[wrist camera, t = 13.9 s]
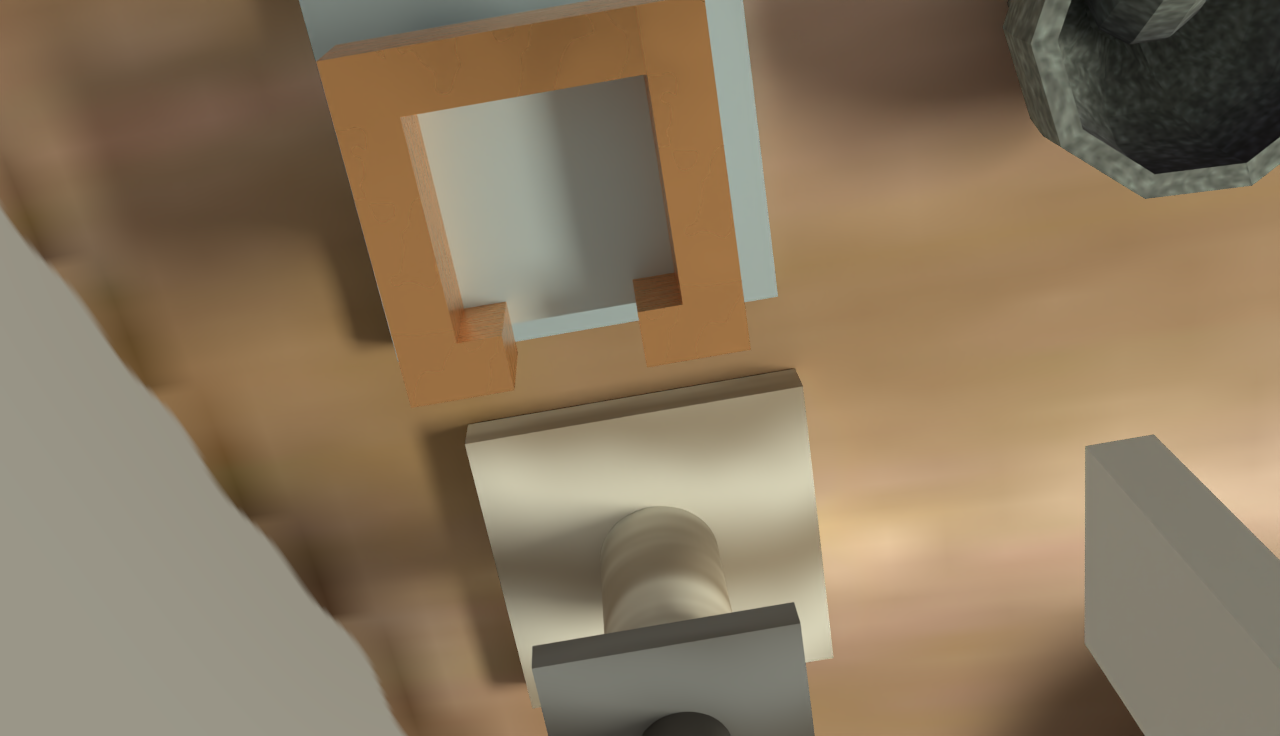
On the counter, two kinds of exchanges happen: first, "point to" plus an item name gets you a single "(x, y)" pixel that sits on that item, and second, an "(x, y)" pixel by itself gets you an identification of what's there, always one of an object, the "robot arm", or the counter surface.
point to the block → (565, 174)
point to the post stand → (661, 558)
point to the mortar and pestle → (1154, 87)
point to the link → (511, 67)
